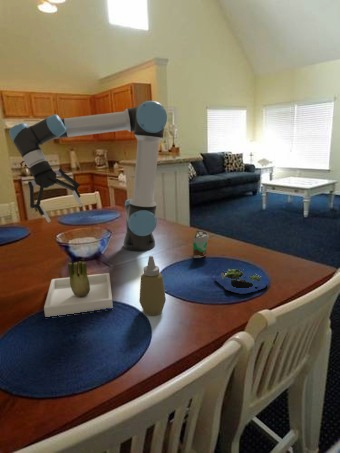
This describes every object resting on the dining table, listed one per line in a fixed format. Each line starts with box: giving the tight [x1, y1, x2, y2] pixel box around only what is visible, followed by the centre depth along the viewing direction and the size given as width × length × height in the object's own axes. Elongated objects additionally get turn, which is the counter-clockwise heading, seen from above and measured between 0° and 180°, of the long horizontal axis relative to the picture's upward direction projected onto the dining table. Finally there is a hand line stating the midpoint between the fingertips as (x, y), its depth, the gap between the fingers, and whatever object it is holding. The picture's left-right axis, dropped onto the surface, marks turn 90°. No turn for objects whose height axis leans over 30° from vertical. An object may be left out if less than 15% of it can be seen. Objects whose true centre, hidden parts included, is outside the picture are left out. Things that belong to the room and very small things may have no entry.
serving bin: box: [43, 272, 114, 317], centre depth 108 cm, size 20×20×4 cm
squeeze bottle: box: [138, 255, 167, 316], centre depth 97 cm, size 8×8×18 cm
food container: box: [192, 229, 210, 257], centre depth 142 cm, size 12×6×10 cm, turn 168°
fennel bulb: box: [67, 261, 90, 297], centre depth 107 cm, size 6×5×12 cm
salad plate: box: [221, 268, 261, 288], centre depth 118 cm, size 19×18×5 cm
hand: (65, 213), depth 126 cm, fingers open, 13 cm apart
